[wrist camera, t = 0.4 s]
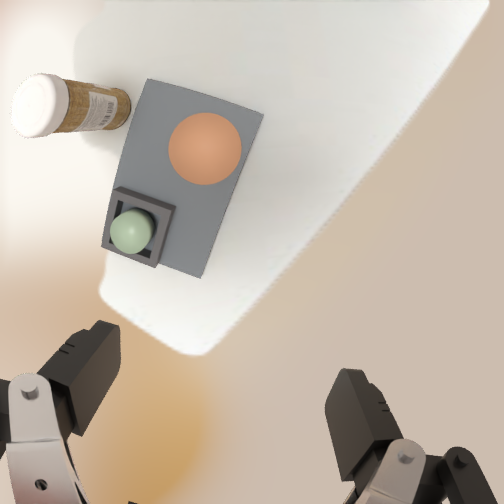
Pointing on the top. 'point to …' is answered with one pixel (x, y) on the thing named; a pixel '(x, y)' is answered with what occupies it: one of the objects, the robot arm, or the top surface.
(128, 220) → the button
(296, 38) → the top surface
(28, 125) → the sprinkles bottle
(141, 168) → the slate board
